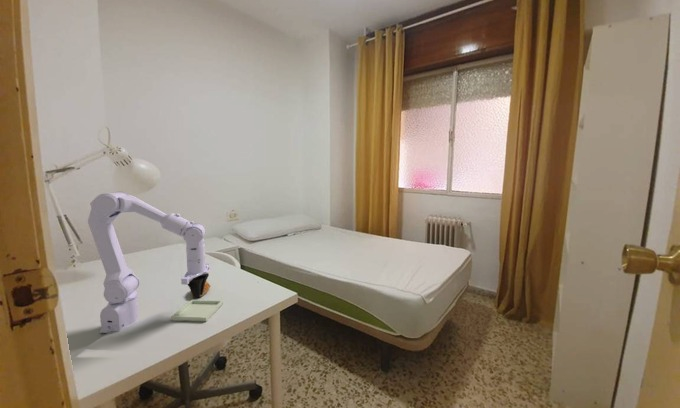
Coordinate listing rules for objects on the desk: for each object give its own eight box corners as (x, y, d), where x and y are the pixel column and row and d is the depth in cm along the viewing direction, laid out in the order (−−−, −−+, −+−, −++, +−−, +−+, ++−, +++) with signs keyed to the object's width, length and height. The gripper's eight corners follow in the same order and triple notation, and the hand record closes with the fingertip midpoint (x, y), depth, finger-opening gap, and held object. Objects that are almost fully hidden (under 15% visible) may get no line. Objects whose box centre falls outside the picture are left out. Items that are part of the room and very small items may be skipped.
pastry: (206, 298, 104) (205, 289, 104) (187, 299, 102) (186, 290, 102) (211, 287, 113) (210, 279, 113) (193, 288, 111) (193, 280, 111)
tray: (206, 321, 88) (206, 317, 88) (171, 320, 88) (171, 316, 88) (223, 304, 100) (222, 300, 100) (192, 303, 100) (191, 299, 100)
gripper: (195, 266, 85) (197, 306, 86) (217, 252, 99) (218, 287, 100) (174, 265, 85) (176, 305, 86) (199, 252, 99) (200, 286, 101)
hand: (198, 295), depth 93 cm, fingers closed
